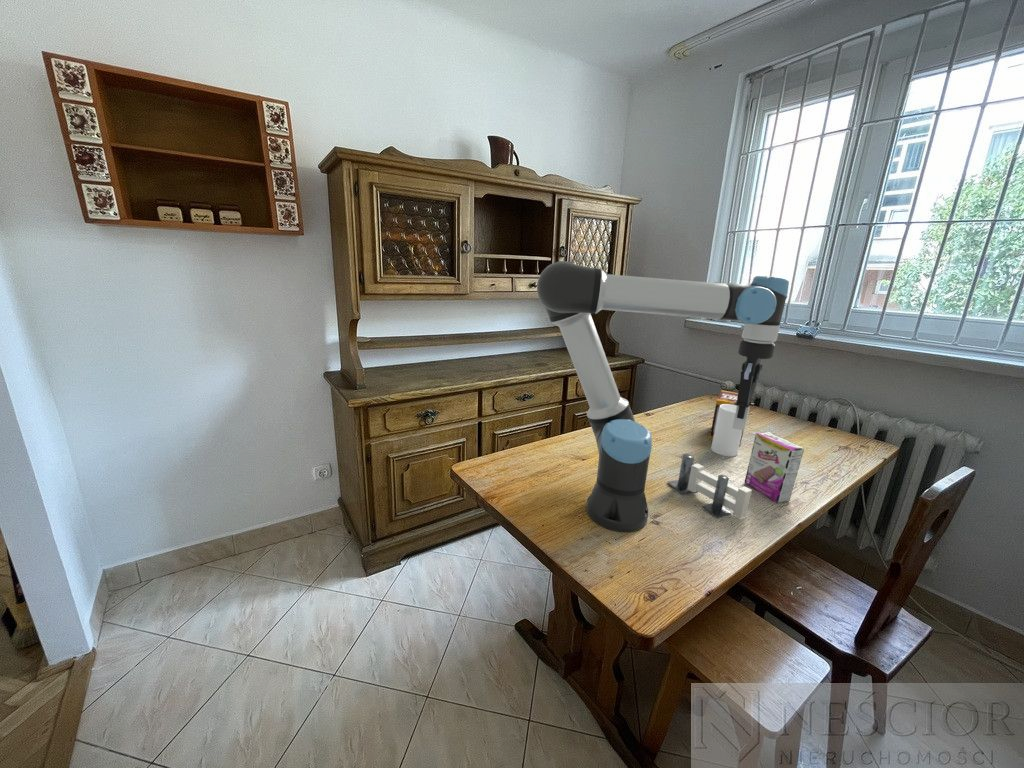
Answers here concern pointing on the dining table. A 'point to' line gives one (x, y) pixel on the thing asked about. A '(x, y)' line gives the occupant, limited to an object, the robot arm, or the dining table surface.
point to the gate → (695, 485)
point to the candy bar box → (773, 466)
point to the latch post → (718, 499)
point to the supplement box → (723, 398)
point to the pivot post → (683, 475)
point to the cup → (726, 432)
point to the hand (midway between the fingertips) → (738, 428)
